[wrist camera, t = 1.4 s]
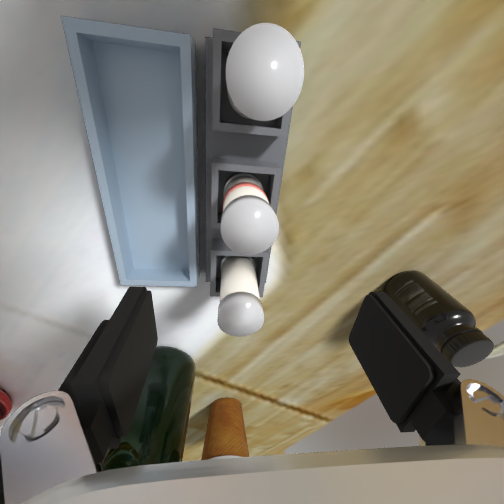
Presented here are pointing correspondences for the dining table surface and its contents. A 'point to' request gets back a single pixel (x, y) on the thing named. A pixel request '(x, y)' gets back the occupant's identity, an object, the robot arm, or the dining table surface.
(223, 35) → the fuse holder
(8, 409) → the plant pot
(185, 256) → the parts tray
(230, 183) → the cylinder
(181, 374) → the green wine bottle
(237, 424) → the disposable coffee cup
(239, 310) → the fuse
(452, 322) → the supplement bottle
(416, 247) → the dining table surface
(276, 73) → the ball
